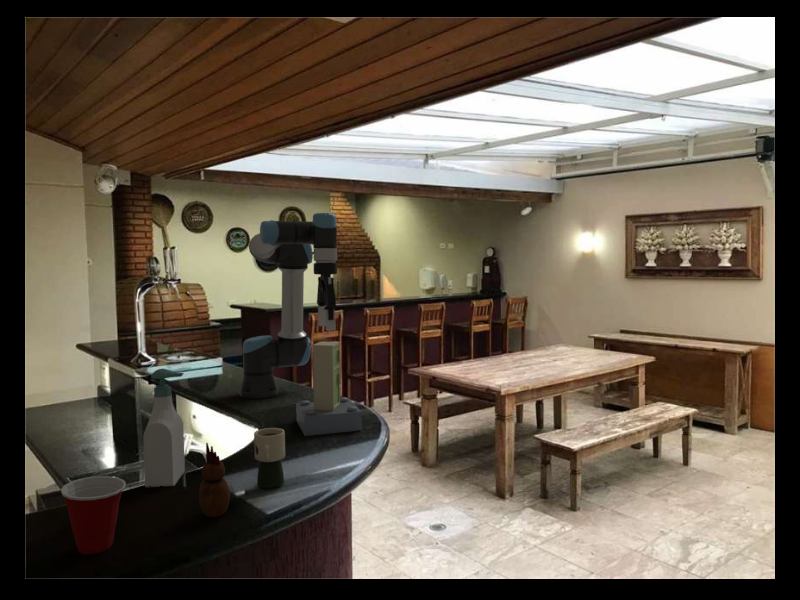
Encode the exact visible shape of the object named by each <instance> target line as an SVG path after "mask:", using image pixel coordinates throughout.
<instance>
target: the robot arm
mask: <svg viewBox="0 0 800 600" xmlns="http://www.w3.org/2000/svg"><path fill="white" fill-rule="evenodd" d="M337 228H338V223H337V215H336V214H335V213H332V212H316V213H314V214H313V215H312V221H308V220H307V221H302V220H301V221H300V220H299V221H298V220H291V221H290V220H289V221H288V220H263V221H261V222H260V227H259V233H256V234H255V235H253V237H252V238H251V239H250V240H249V243H248V250H249V253H250V255H251V256H252V257H253V258H254V259H256V260H257V261H259V262H261V263H265V264H274V265H277V268H278V270H279V271H280V272H281V330H280V331H279V332H278V333H277V338H274V337H273V336H272V335H258V336H253V337H250V338H247V339H245V340H244V341H243V343H242V364H243V365H242V370H243V377H242V380H241V383H240V384H241V385H240V388H239V392H238V393H239V395H238V396H239V397H240V398H243V399H250V400H251V399H252V400H253V399H258V400H259V399H266V398H267V399H268V398H272V397H275V396H278V394H279V388H278V386H277V385H278V384H277V382H276V379H275V376H274V369H275V368H277V369H278V368H288V367H296V368H297V367H299V366H305V365H306V364H308V362H309V360H310V357H311V353H312V341H311V338H310V337H309V336H307V335H308V334H307V332H305V331H304V289H305V287H304V285H305V282H304V281H305V280H304V279H305V278H304V276H305V274H304V273H305V272H306V271H307V270H308V266H309V265H310V264H312V263H313V261H314V263H313V274H314V275H320V276H318V277H317V294H316V295H317V296H316V297H317V298H316V303H317V312H318V314H317V315H318V317H317V320H318V321H317V323H318V324H317V325H318V327H325V331H326V332H327V331H328V332H329V331H330V332H331V331H336V313H335V310H336V308H337V302H336V300H337V299H336V292H335V281H334V280H335V278H334V277H332V275H337V274H338V262H337V261H338V246H337V245H338V236H337V235H338V232H337V230H338V229H337ZM312 247H313V248H312Z"/></svg>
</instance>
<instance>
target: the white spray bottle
mask: <svg viewBox="0 0 800 600" xmlns="http://www.w3.org/2000/svg"><path fill="white" fill-rule="evenodd" d="M182 376H184V372H175V371H172V370H170V369H167V368H159V369H156V370H155V371H154V372H152V374H151V376H150V378H151V379H155V380H156V379H157V380H158V379H159V384H158V385H155V387H154V388H153V395H154V396H153V397H154V398H153V405H152V406H153V407H152V411H151V413H150V416H149V419H148V422H147V425H146V428H145V430H144V433H143V437H142V439H143V440H142V441H143V444H142V445H143V462H144V463H143V465H144V466H143V467H144V470H143V471H144V486H145V488H158V487H159V488H160V486H163V487H174V486H175V485H176V484H177V483H178V481H179V479H180V478H181V477H182V475H183V474H184V473H185V471H186V464H185V435H184V433H185V432H184V429H185V428H184V421H183V419H182V417H181V416H180V414H178V413H177V411H176V408H175V406H174V403H173V396H172V386H170V385H169V384H166V379H168V378H169V379H170V378H180V377H182ZM150 486H151V487H150Z"/></svg>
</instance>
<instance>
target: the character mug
mask: <svg viewBox="0 0 800 600" xmlns="http://www.w3.org/2000/svg"><path fill="white" fill-rule="evenodd" d="M285 435H286V433H285V430H284V429H283V428H280V427H279V428H278V427H269V428H267V427H266V428H263V429H262V428H261V429H257V430H256V431H254V432H253V442H254V444H253V445H254V446H253V448H254V450H253V451H254V459H255V460H256V461H258V462H259V464H258V469H257V470H258V471H257V479H256V486H258V487H259V488H263V489H264V488H269V489H271V488H272V487H278V486H282V485H284V483H285V477H284V469H283V465H282V460H283V459H285V457H286V436H285Z"/></svg>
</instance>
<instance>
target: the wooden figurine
mask: <svg viewBox="0 0 800 600" xmlns="http://www.w3.org/2000/svg"><path fill="white" fill-rule="evenodd" d="M225 473H226V467H225V465H224V462H223V461H222V460H221V459H220V456H219V455H217V452H216V451H214V446H213V445H211V446H210V447H209V443H208V442H206V443H205V462H204V463H203V466H202V468H201V475H202V479H203V480H202V481H201V482H200V484H199V489H198V498H199V505H200V509H201V512H202V513H203V515H204V516H206V517H208V518H217V517H220V516H222V515H224V514H225V513H226V512H227V510H228V507H229V504H230V501H231V497H230V496H231V493H230V489H229V485H228V484H229V483H228V482H227V481H226V479H225V478H224V476H225Z"/></svg>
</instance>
